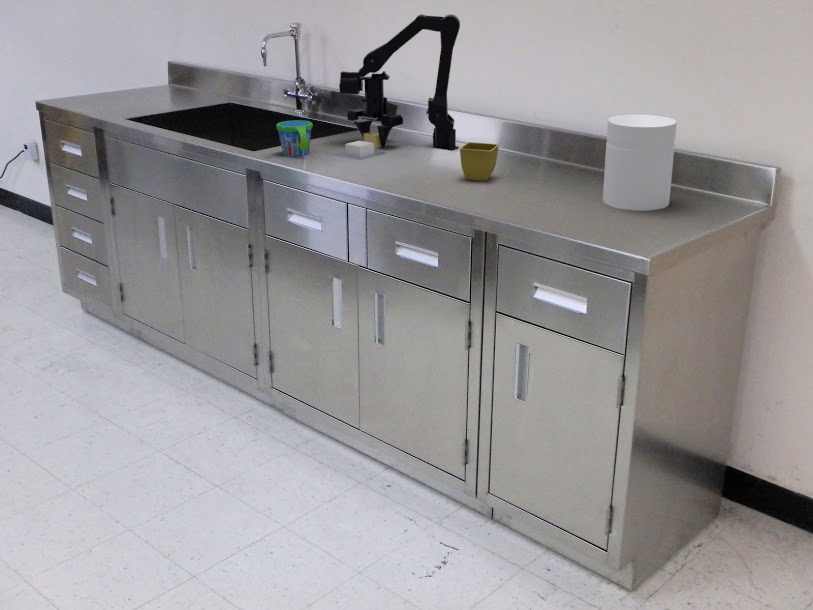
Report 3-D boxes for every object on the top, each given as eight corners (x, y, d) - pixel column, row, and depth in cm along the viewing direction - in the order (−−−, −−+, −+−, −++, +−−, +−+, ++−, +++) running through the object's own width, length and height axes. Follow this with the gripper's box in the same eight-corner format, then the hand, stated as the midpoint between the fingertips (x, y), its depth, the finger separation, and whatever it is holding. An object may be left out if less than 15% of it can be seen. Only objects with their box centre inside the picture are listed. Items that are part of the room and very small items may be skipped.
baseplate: (388, 156, 283) (388, 152, 283) (360, 163, 275) (360, 159, 275) (359, 150, 291) (359, 147, 290) (331, 157, 282) (331, 154, 282)
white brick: (374, 153, 283) (373, 143, 282) (360, 156, 279) (359, 146, 277) (359, 150, 286) (359, 140, 285) (345, 153, 282) (345, 143, 281)
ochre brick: (386, 148, 293) (386, 132, 291) (375, 151, 290) (375, 135, 288) (375, 146, 296) (374, 130, 294) (364, 149, 293) (363, 133, 291)
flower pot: (498, 176, 259) (499, 143, 255) (490, 184, 251) (491, 150, 248) (467, 174, 261) (468, 141, 258) (458, 181, 254) (459, 148, 250)
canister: (628, 214, 223) (634, 129, 216) (589, 197, 237) (594, 117, 230) (682, 205, 229) (691, 123, 222) (642, 190, 243) (649, 112, 235)
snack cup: (273, 153, 289) (271, 120, 285) (306, 150, 292) (305, 117, 289) (285, 164, 275) (282, 129, 272) (320, 160, 279) (318, 126, 275)
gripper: (414, 94, 287) (415, 145, 292) (370, 88, 298) (371, 137, 304) (390, 99, 279) (391, 151, 285) (345, 92, 290) (347, 143, 296)
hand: (375, 145), depth 293 cm, fingers open, 6 cm apart
